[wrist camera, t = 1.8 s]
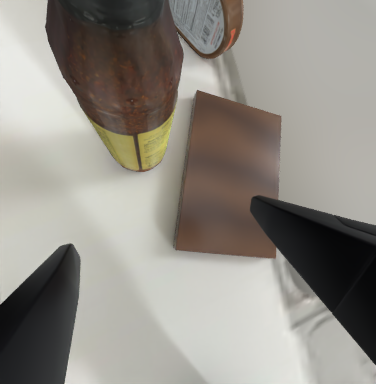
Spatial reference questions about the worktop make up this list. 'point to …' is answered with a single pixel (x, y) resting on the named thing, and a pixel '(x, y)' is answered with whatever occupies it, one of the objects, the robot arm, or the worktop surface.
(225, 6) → the tin
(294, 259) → the robot arm
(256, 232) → the cutting board
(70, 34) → the sauce bottle
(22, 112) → the worktop surface
